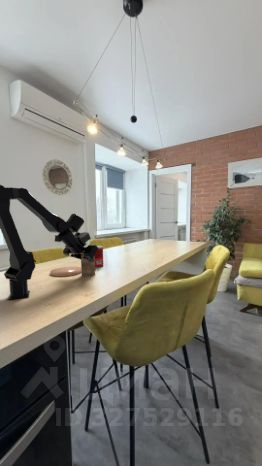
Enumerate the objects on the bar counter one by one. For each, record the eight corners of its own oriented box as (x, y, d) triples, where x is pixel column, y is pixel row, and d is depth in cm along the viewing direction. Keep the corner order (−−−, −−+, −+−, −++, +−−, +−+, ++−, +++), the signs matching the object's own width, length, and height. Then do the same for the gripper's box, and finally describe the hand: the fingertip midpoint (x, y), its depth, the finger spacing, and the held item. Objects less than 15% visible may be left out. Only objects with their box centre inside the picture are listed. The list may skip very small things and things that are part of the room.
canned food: (105, 264, 128) (104, 245, 127) (100, 267, 121) (99, 247, 120) (93, 264, 130) (92, 245, 129) (87, 267, 123) (86, 247, 122)
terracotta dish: (85, 274, 107) (85, 271, 107) (50, 278, 102) (50, 275, 101) (80, 267, 122) (80, 265, 122) (50, 270, 116) (49, 268, 116)
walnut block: (88, 276, 103) (87, 249, 102) (81, 275, 105) (80, 248, 104) (95, 274, 106) (94, 247, 105) (88, 273, 109) (87, 247, 108)
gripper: (94, 226, 95) (112, 248, 105) (66, 226, 106) (85, 246, 116) (81, 247, 90) (101, 268, 99) (53, 244, 101) (73, 264, 110)
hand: (90, 260), depth 106 cm, fingers open, 5 cm apart
